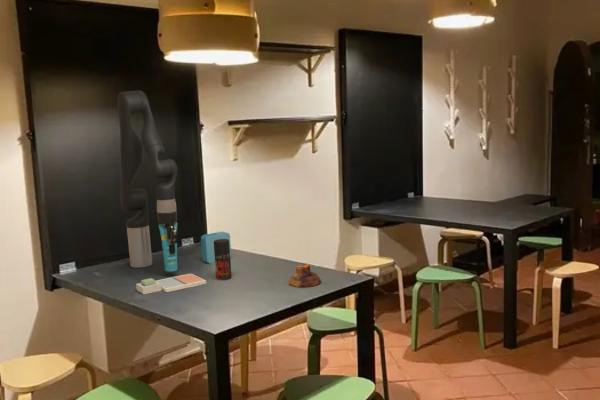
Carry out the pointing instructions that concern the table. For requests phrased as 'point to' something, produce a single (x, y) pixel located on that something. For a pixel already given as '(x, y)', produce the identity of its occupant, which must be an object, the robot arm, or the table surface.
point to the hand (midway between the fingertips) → (170, 252)
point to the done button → (148, 282)
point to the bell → (304, 277)
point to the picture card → (180, 282)
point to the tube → (169, 259)
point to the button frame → (148, 288)
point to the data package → (212, 245)
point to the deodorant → (222, 259)
